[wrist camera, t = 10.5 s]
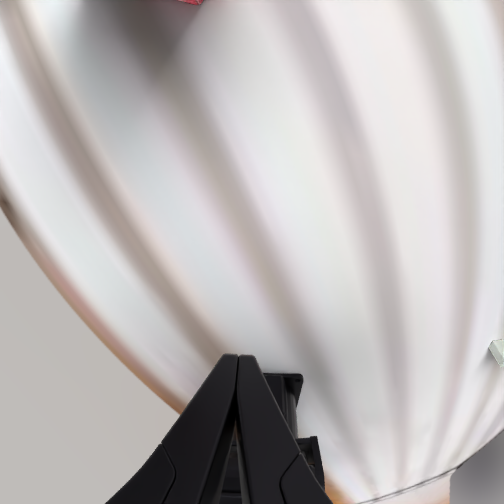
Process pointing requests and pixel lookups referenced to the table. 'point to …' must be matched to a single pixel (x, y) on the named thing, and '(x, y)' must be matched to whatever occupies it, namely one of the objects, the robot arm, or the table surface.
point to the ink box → (193, 1)
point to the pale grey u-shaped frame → (498, 351)
